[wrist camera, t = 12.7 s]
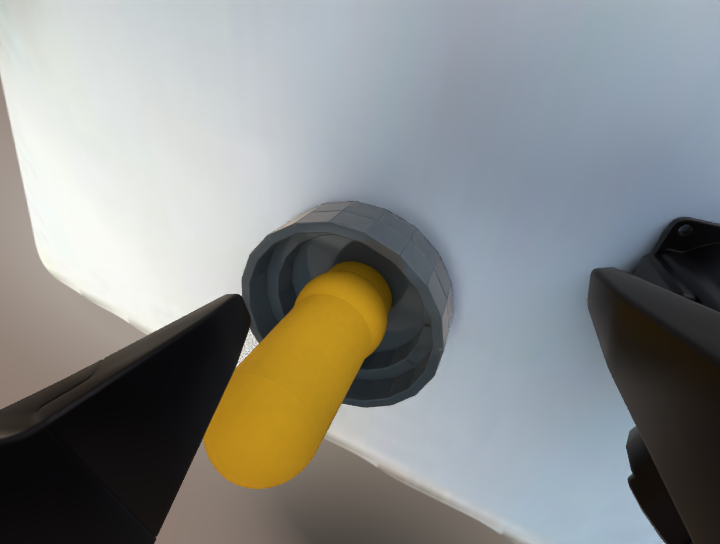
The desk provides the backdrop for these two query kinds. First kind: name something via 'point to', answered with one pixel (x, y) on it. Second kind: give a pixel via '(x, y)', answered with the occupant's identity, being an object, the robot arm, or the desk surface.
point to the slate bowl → (389, 258)
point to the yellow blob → (298, 378)
